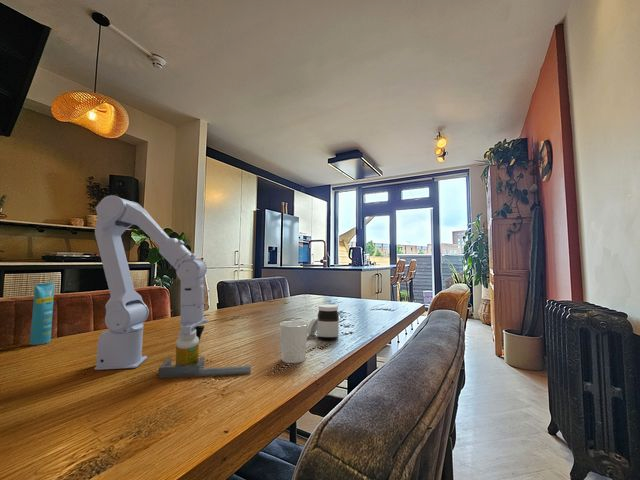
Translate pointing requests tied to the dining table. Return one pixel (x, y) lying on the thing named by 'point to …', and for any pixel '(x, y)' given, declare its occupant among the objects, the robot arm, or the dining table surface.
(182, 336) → the supplement bottle
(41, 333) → the tube
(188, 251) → the robot arm
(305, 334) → the white cup
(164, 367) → the rail
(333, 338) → the spread jar
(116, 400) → the dining table surface
